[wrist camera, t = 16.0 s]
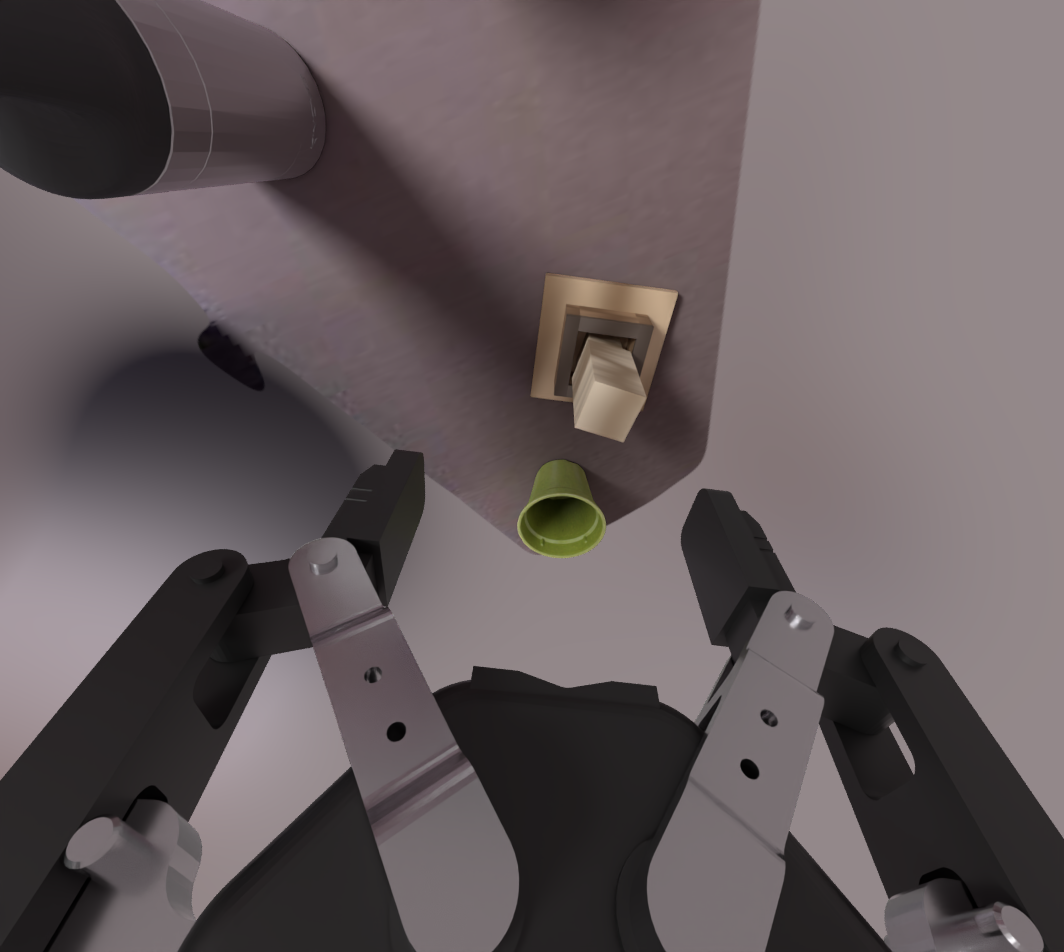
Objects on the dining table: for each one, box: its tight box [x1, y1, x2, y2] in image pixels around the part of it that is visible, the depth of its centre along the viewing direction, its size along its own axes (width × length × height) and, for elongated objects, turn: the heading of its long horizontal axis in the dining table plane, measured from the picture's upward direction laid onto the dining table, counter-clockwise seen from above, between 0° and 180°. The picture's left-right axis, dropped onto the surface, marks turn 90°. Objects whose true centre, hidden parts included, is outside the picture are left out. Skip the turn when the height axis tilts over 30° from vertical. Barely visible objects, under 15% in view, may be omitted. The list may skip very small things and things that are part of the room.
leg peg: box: [572, 332, 647, 442], centre depth 38 cm, size 4×4×13 cm
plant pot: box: [517, 460, 606, 558], centre depth 50 cm, size 9×9×9 cm
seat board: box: [530, 273, 678, 411], centre depth 42 cm, size 12×12×4 cm
